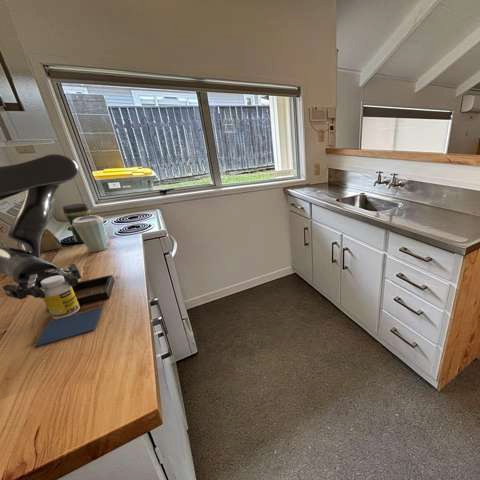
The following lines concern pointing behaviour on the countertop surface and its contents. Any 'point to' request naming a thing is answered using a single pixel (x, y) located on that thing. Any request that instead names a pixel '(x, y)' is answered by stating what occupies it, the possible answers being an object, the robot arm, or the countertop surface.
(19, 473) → the countertop surface
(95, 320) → the mat
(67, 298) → the supplement bottle
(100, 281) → the dark serving tray
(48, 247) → the rock
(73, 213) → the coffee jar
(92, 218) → the disposable coffee cup
